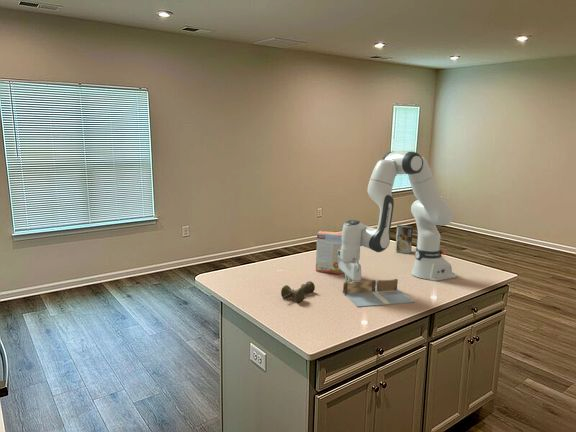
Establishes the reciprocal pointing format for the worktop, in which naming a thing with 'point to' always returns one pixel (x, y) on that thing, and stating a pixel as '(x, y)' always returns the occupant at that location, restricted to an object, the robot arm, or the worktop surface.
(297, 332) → the worktop surface
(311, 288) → the kendama
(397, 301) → the card
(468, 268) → the worktop surface
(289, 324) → the worktop surface
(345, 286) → the tan wooden bar
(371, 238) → the robot arm
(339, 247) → the cracker box
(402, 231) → the coffee box
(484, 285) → the worktop surface
